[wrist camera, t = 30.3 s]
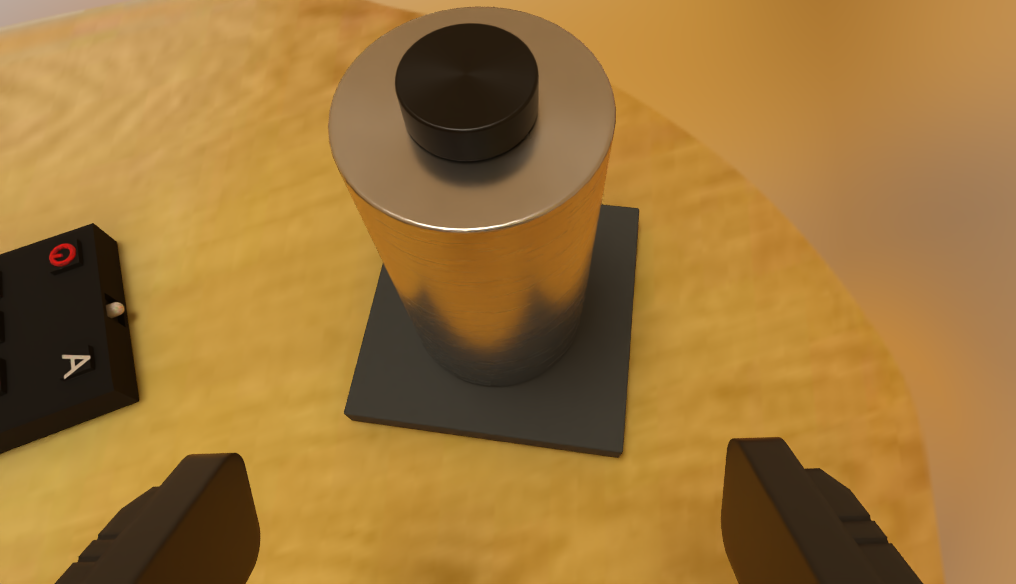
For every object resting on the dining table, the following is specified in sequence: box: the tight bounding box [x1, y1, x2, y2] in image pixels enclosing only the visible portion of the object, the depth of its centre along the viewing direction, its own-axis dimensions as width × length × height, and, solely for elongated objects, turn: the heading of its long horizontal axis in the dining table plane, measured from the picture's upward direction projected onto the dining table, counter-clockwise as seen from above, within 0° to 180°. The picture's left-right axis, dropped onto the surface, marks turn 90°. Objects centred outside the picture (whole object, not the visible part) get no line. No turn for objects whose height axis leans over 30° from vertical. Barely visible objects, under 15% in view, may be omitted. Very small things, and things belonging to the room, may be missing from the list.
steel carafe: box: [328, 7, 616, 387], centre depth 18 cm, size 6×6×12 cm
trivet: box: [344, 205, 639, 458], centre depth 24 cm, size 10×10×1 cm
